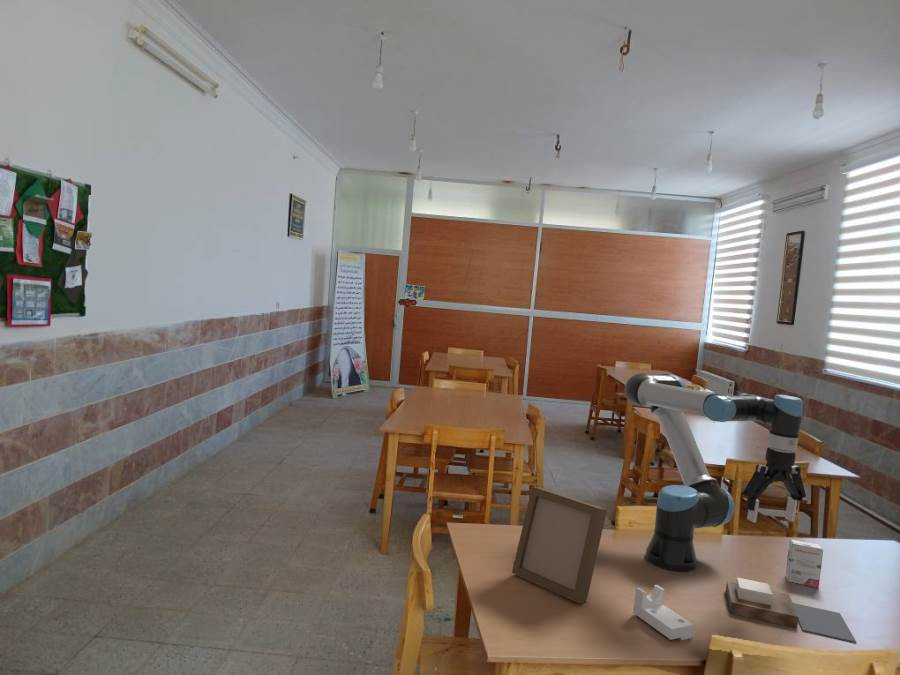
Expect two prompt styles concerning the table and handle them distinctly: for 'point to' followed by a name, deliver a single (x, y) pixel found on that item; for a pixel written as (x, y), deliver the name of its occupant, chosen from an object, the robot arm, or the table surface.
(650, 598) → the bracket
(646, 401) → the robot arm
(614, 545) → the table surface
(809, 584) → the ink box
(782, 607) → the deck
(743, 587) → the cream rectangular block
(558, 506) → the photo frame
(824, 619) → the mat
